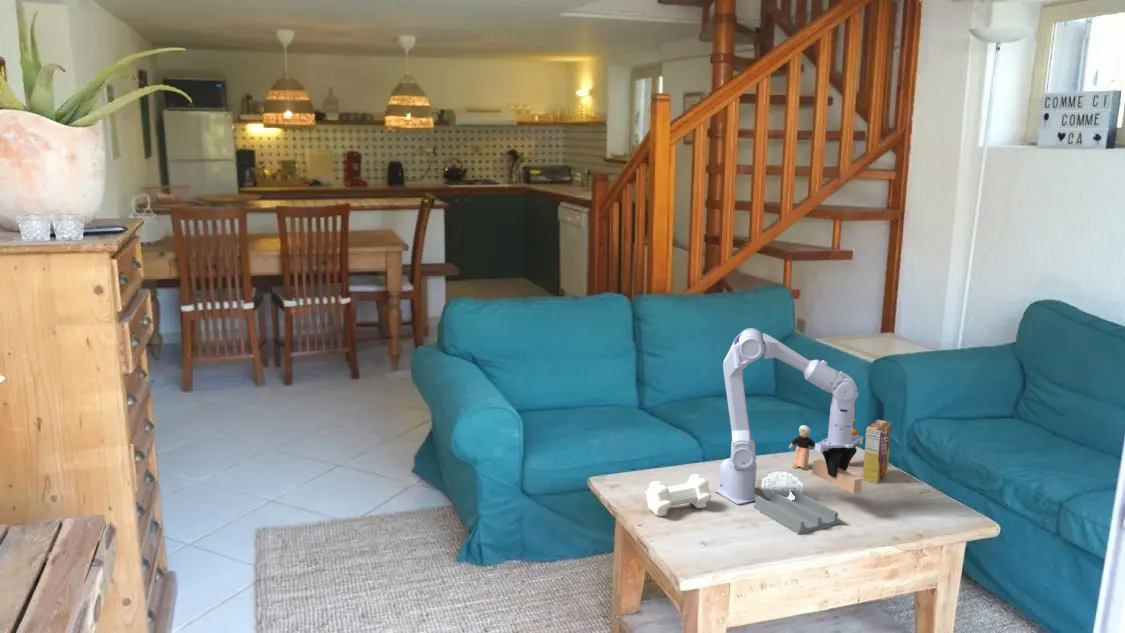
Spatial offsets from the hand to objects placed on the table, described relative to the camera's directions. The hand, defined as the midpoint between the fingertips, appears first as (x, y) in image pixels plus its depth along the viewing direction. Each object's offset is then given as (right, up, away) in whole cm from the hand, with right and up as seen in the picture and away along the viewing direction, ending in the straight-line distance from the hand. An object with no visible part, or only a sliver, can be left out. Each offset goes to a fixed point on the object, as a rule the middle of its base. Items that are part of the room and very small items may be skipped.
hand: (836, 474), depth 216 cm
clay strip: (0, -2, 0) cm, 2 cm away
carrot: (+12, -3, +29) cm, 32 cm away
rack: (-12, -9, -4) cm, 16 cm away
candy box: (+17, -5, +21) cm, 28 cm away
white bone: (-40, -9, -1) cm, 41 cm away
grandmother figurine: (-1, -3, +27) cm, 27 cm away
